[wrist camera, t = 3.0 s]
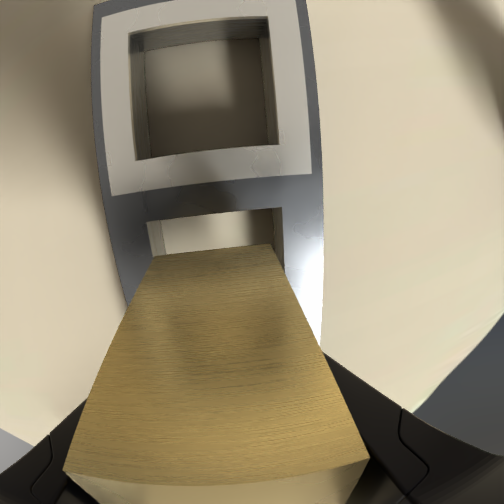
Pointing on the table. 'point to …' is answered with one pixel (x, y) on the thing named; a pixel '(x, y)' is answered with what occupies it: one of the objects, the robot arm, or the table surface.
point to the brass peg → (216, 394)
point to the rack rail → (217, 160)
